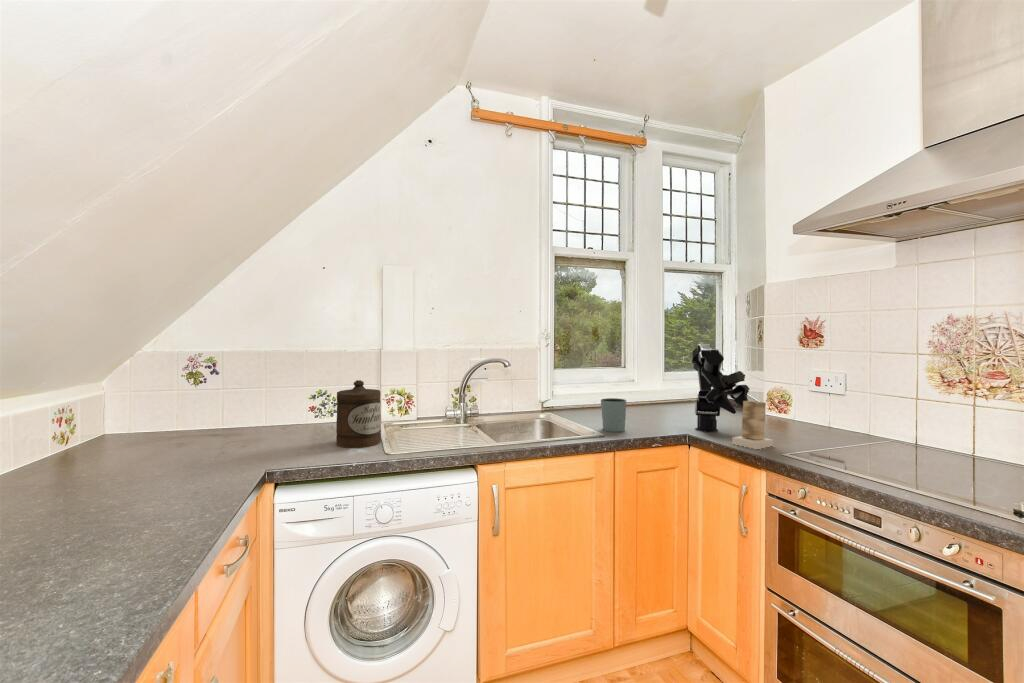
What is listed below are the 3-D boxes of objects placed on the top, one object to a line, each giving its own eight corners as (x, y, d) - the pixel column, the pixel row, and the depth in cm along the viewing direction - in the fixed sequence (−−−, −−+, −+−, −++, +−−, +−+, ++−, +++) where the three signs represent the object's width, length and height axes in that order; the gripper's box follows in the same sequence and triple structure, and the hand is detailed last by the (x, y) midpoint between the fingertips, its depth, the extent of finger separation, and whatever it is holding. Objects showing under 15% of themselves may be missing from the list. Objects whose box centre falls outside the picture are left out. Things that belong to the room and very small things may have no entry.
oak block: (741, 436, 166) (743, 400, 166) (750, 436, 169) (752, 400, 169) (754, 439, 162) (756, 402, 162) (763, 438, 164) (765, 402, 165)
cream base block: (732, 445, 167) (732, 437, 167) (747, 442, 171) (747, 434, 171) (757, 451, 159) (757, 442, 159) (772, 448, 164) (772, 439, 164)
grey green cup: (624, 433, 184) (625, 402, 184) (598, 431, 188) (598, 400, 187) (627, 428, 194) (627, 398, 194) (602, 426, 197) (602, 397, 197)
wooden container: (355, 450, 157) (355, 383, 156) (327, 444, 165) (327, 380, 164) (389, 441, 169) (389, 379, 169) (362, 436, 177) (361, 377, 177)
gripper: (713, 364, 168) (742, 400, 158) (745, 362, 177) (774, 396, 168) (694, 384, 174) (720, 419, 165) (725, 381, 184) (752, 414, 175)
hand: (742, 412), depth 168 cm, fingers open, 9 cm apart
